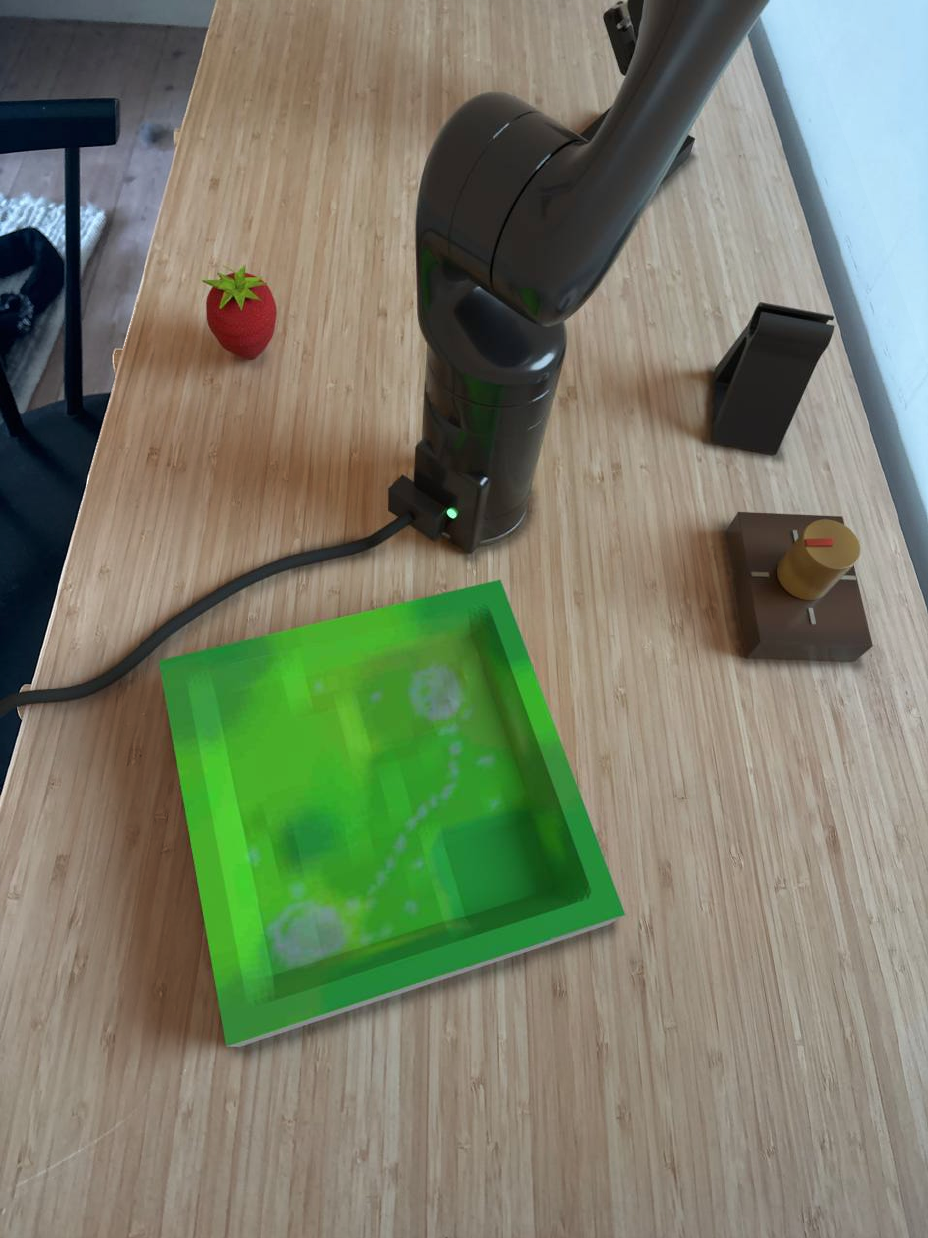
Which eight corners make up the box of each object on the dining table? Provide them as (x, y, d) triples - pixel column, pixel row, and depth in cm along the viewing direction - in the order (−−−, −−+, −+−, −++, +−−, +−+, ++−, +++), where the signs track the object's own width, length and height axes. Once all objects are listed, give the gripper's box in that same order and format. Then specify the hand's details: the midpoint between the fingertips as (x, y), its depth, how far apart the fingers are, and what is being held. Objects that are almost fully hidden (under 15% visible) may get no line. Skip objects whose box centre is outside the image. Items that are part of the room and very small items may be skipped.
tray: (174, 687, 64) (158, 660, 60) (493, 609, 69) (500, 579, 65) (239, 1047, 54) (226, 1046, 50) (607, 925, 59) (625, 914, 55)
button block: (644, 201, 93) (655, 167, 89) (567, 160, 95) (574, 125, 91) (689, 156, 97) (700, 122, 93) (614, 117, 99) (622, 82, 95)
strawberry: (215, 388, 77) (192, 301, 68) (219, 325, 80) (198, 235, 71) (282, 388, 78) (268, 302, 69) (284, 326, 81) (271, 236, 72)
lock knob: (822, 552, 71) (853, 516, 66) (836, 599, 69) (869, 566, 64) (770, 553, 70) (798, 517, 65) (783, 601, 68) (813, 567, 63)
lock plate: (854, 661, 70) (874, 645, 67) (745, 658, 69) (761, 641, 66) (826, 535, 75) (843, 515, 72) (725, 530, 74) (738, 510, 72)
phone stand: (774, 456, 79) (835, 362, 68) (709, 444, 79) (760, 348, 68) (775, 382, 83) (833, 282, 72) (714, 370, 83) (762, 268, 72)
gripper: (605, -78, 77) (569, 112, 92) (735, -18, 74) (675, 167, 89) (647, -109, 80) (605, 80, 95) (774, -53, 77) (709, 132, 92)
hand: (639, 122), depth 92 cm, fingers closed
